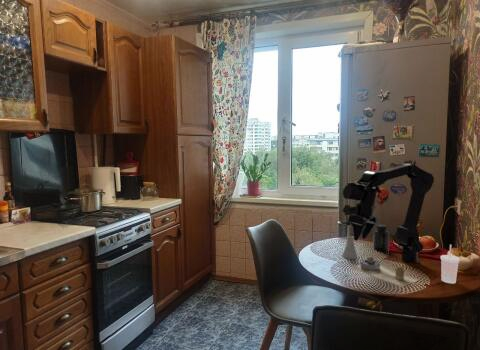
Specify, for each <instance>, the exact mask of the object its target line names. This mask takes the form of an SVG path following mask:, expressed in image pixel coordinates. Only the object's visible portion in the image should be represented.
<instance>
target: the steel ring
mask: <svg viewBox="0 0 480 350" xmlns="http://www.w3.org/2000/svg"><path fill="white" fill-rule="evenodd" d="M359 265H360V266H361V269H364V270H366V271H378V270H380V265H381V264H380V261H379V260H376V259H373V264H369V263H367V258H361V259H360V264H359Z"/></svg>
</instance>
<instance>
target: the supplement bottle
mask: <svg viewBox="0 0 480 350" xmlns="http://www.w3.org/2000/svg"><path fill="white" fill-rule="evenodd" d="M372 241H373V244H372V245H373V246H372V247H373V250H375V251H376V252H382V253H383V252H384V253H385V252H388V251H389V247H390V246H389V242H390V232H389V231H388V226H387V225H386V224H383V223H382V224H378V223H377V224H376V225H375V230H374V231H373V240H372Z"/></svg>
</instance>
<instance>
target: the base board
mask: <svg viewBox="0 0 480 350" xmlns="http://www.w3.org/2000/svg"><path fill="white" fill-rule="evenodd" d="M366 259H367V263H369V264H373V260H374V256H370V255H368V256H366ZM350 268H352V269H353V270H355V271H359V272H362V273H364V274H367V275H369V276H372V277H374V278H377V279H379V280H381V281H384V282H386V283H389V284H391V285H395V286H396V287H400V288H403V287H406V286H408V285H410V284H414V283H416V282H418V281H420V280H421V278H420V279H419V278H417V277H414V276H411V275H409V274H406V273H405V269H404V267H403V266H401V265H398V266H396V267H395V270H394V269H392V268H389V267H387V266H384V265H381V264H380V270H378V271H366V270H364V269H361V266H360V264H358V265H354V266H351V267H350Z"/></svg>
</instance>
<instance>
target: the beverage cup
mask: <svg viewBox="0 0 480 350" xmlns="http://www.w3.org/2000/svg"><path fill="white" fill-rule="evenodd" d="M439 258H440V260H441V261H440V262H441V263H440V264H441V265H440V266H441V267H440V269H441V270H440V271H441V272H440V273H441V274H440V276H441V279H440V280H441V282H444V283H447V284H456V282H457V275H458V268H459V263H460V260H461V259H460V258H459V257H457V256H456V255H455V256H454V255H452V244H449V254H442V255H440V257H439Z"/></svg>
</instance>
